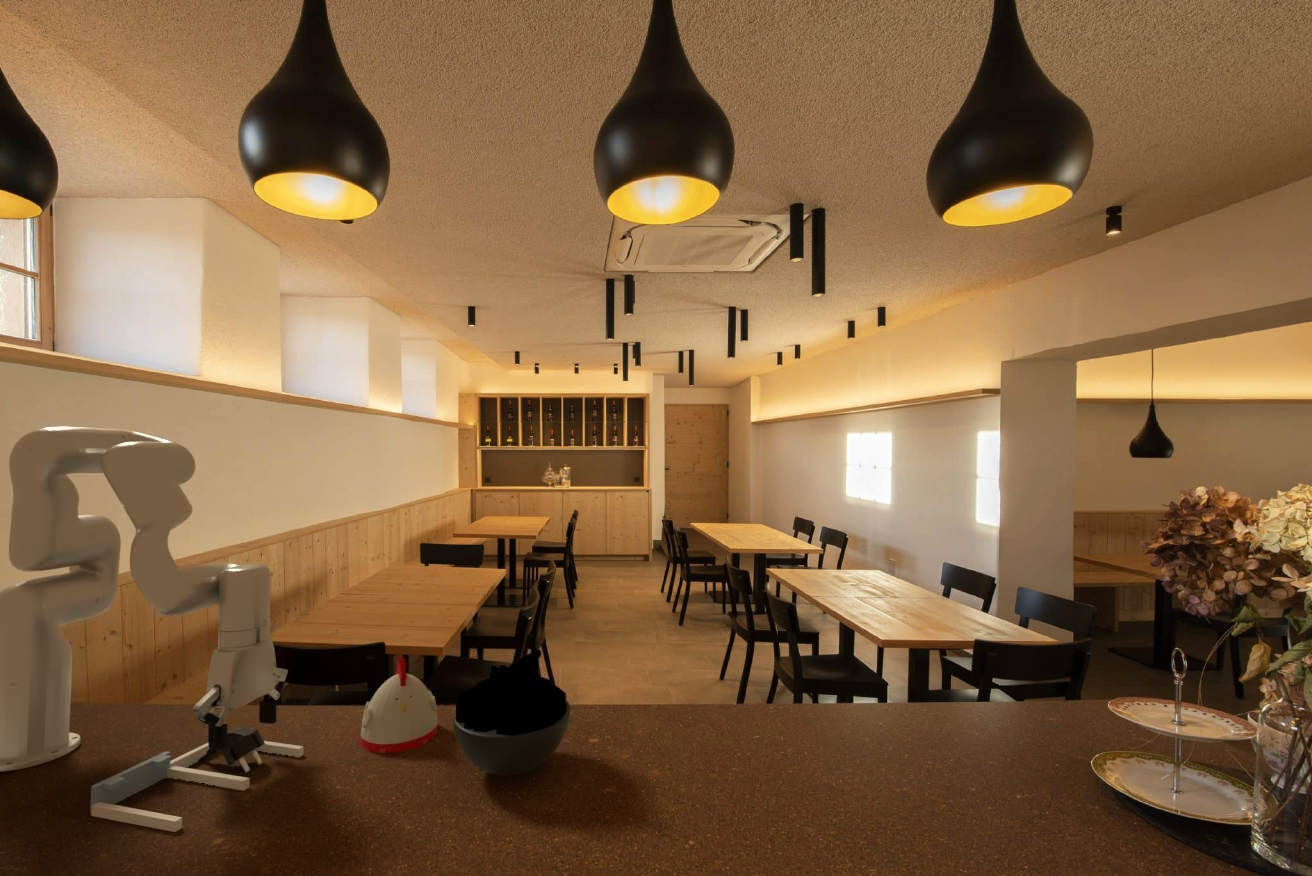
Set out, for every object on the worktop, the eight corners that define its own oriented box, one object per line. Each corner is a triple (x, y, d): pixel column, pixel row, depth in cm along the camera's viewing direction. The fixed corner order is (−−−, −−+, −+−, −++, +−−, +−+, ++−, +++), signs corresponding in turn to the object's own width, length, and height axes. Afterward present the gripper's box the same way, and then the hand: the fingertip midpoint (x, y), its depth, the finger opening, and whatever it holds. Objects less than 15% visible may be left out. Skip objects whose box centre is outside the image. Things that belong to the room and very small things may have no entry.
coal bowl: (481, 817, 90) (483, 691, 91) (435, 763, 106) (437, 656, 106) (591, 773, 103) (593, 663, 104) (536, 731, 118) (537, 636, 119)
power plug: (212, 748, 109) (259, 715, 107) (232, 785, 108) (279, 752, 106) (182, 764, 103) (231, 729, 101) (202, 803, 102) (252, 768, 100)
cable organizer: (86, 814, 90) (87, 788, 90) (227, 743, 112) (228, 722, 112) (175, 832, 86) (175, 804, 86) (303, 754, 108) (303, 732, 108)
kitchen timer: (362, 760, 107) (365, 675, 107) (357, 729, 119) (359, 653, 119) (443, 742, 114) (445, 663, 114) (431, 714, 126) (432, 643, 126)
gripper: (269, 621, 114) (268, 712, 114) (178, 650, 97) (177, 757, 97) (302, 623, 112) (301, 715, 112) (215, 653, 96) (214, 761, 95)
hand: (243, 734), depth 104 cm, fingers open, 9 cm apart
